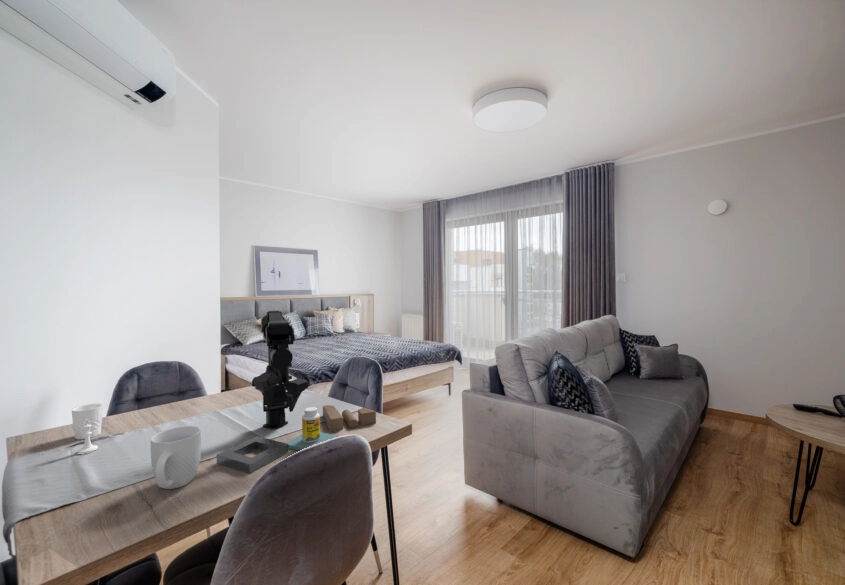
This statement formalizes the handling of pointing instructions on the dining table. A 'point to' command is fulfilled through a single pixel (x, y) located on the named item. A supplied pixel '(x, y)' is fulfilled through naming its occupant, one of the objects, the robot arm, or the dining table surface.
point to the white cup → (82, 414)
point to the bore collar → (247, 464)
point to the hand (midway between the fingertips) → (280, 409)
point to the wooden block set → (347, 417)
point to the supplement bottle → (310, 425)
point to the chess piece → (87, 439)
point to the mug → (175, 456)
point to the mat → (300, 444)
